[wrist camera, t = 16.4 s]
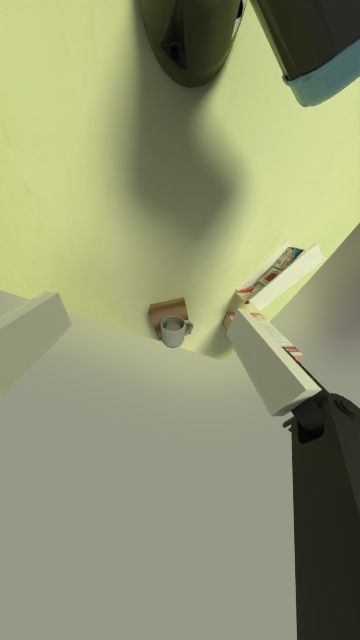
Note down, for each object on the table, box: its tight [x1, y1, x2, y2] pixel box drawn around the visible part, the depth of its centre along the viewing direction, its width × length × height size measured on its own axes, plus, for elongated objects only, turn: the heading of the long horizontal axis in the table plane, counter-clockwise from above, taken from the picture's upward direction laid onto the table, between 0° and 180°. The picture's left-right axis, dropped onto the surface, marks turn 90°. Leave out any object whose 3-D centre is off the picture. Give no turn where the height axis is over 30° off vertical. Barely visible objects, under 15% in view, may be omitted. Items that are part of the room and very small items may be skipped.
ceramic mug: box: [161, 316, 193, 348], centre depth 42 cm, size 11×8×8 cm
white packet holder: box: [236, 240, 325, 311], centre depth 39 cm, size 20×6×9 cm, turn 141°
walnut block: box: [149, 298, 191, 340], centre depth 47 cm, size 12×12×6 cm
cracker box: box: [223, 313, 302, 360], centre depth 45 cm, size 14×6×21 cm, turn 85°
